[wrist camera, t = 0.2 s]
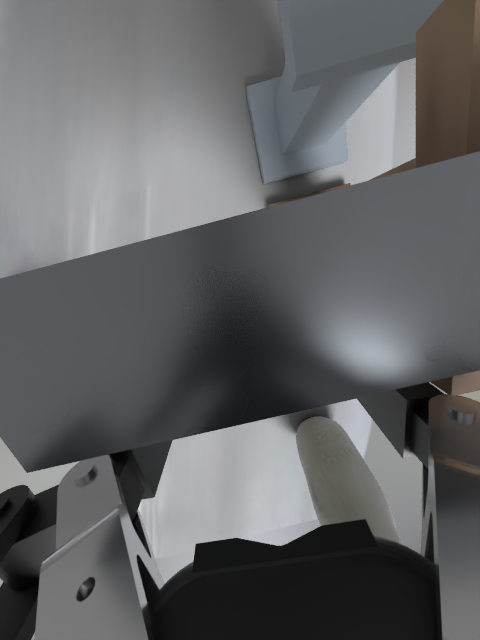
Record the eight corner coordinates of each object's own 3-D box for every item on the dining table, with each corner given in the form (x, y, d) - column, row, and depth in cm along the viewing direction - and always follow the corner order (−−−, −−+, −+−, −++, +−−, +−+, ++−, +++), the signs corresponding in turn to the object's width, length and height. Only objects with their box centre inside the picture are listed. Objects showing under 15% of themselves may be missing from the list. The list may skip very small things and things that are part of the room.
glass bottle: (336, 402, 46) (478, 614, 20) (336, 441, 49) (459, 668, 23) (288, 409, 46) (365, 629, 20) (291, 447, 49) (361, 681, 23)
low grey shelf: (238, 95, 30) (255, -246, 9) (342, 65, 30) (610, -371, 9) (256, 186, 34) (298, 86, 13) (349, 161, 33) (555, 13, 12)
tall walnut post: (261, 208, 34) (481, -80, 4) (351, 183, 34) (1401, -363, 3) (274, 278, 38) (450, 408, 7) (357, 257, 37) (913, 306, 7)
